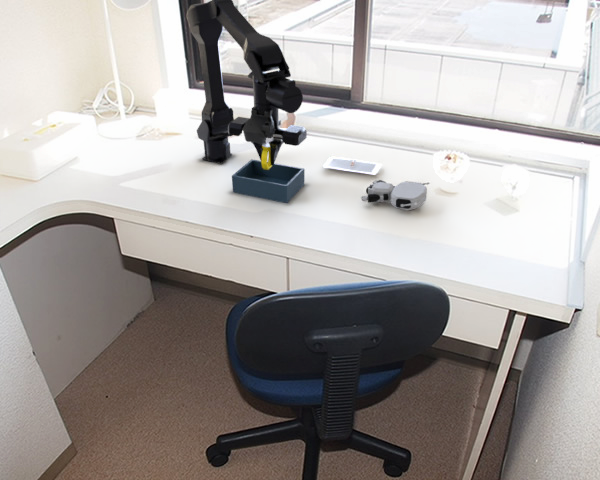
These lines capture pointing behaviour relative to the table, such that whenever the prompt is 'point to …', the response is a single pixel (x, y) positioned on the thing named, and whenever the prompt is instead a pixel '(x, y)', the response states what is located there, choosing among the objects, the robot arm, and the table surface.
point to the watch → (264, 163)
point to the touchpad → (352, 165)
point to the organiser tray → (268, 181)
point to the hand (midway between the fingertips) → (267, 164)
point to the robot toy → (397, 194)
